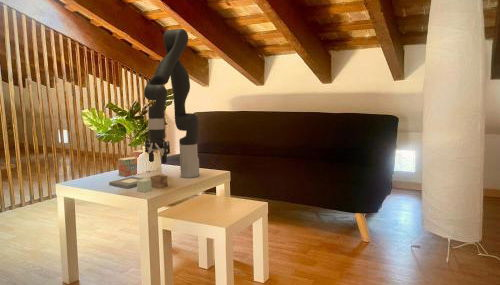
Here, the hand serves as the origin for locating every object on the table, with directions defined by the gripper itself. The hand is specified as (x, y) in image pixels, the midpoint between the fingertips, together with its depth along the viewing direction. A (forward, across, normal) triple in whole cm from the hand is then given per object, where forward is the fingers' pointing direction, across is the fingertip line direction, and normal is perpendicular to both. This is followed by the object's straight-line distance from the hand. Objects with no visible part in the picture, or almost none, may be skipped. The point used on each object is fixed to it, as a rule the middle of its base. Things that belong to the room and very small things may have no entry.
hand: (157, 162), depth 185 cm
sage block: (+12, 0, +8) cm, 15 cm away
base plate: (+12, +16, +4) cm, 20 cm away
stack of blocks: (+12, +33, -16) cm, 38 cm away
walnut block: (+12, 0, 0) cm, 12 cm away
